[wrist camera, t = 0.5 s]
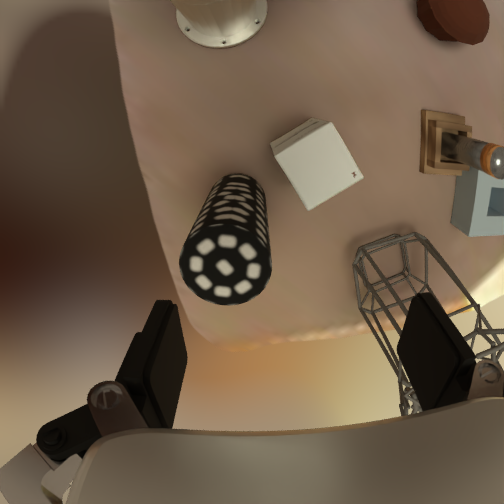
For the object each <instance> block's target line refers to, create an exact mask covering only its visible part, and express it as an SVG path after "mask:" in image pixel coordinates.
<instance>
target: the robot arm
mask: <svg viewBox="0 0 504 504" xmlns="http://www.w3.org/2000/svg"><path fill="white" fill-rule="evenodd" d="M170 1H171V2H172V3H173V5H174V6H175V7H176V19H177V23H178V25H179V28H180V29H181V31H182V32H183V33H184V35H185V36H186V37H188V38H189V39H190V40H192V41H193V42H195V43H197V44H199V45H201V46H205V47H209V48H229V47H233V46H237V45H239V44H242V43H244V42H246V41H247V40H249V39H251V38H252V37H253V36H254V35H255V34H257V33H258V31H259V30H260V29H261V28H262V26H263V24H264V22H265V20H266V16H267V10H268V6H267V0H170ZM256 22H259V24H256ZM188 29H190V31H189V32H187V30H188ZM222 42H226V43H225V44H222ZM397 354H398V356H399V358H400V360H401V362H402V365H403V367H404V369H405V371H406V374H407V376H408V378H409V380H410V383H411V385H412V387H413V389H414V392H415V394H416V396H417V399H418V401H419V404H420V406H421V408H422V411H423V412H419V413H414V414H410V415H405V416H400V417H395V418H390V419H384V420H379V421H372V422H366V423H360V424H352V425H345V426H335V427H326V428H315V429H303V430H287V431H286V430H285V431H205V430H187V429H172V427H173V423H174V418H175V413H176V409H177V404H178V400H179V395H180V391H181V387H182V382H183V378H184V373H185V369H186V365H187V351H186V347H185V342H184V337H183V333H182V328H181V323H180V318H179V313H178V307H177V305H176V304H173V303H172V301H171V300H157V301H156V302H155V304H154V306H153V308H152V311H151V313H150V315H149V317H148V319H147V322H146V324H145V326H144V328H143V331H142V332H138V333H136V334H135V336H134V338H133V340H132V342H131V344H130V347H129V349H128V351H127V353H126V356H125V358H124V360H123V362H122V365H121V367H120V369H119V372H118V374H117V376H116V379H115V381H103V382H100V383H98V384H96V385H95V386H94V387H93V388H91V389H90V391H89V393H88V396H87V403H88V404H86V405H84V406H82V407H80V408H78V409H76V410H74V411H72V412H69V413H67V414H65V415H64V416H61V417H59V418H57V419H55V420H52V421H50V422H48V423H46V424H45V425H43V426H42V427H41V428H40V430H39V432H38V434H37V439H36V441H37V442H36V443H35V444H34V445H31V443H30V444H29V445H28V446H26V447H25V448H24V449H23V450H22V451H20V452H19V453H18V454H17V455H16V456H15V457H13V458H12V459H11V460H10V461H9V462H7V463H6V464H5V465H4V466H3V467H2V468H1V469H0V491H1V492H2V494H3V496H4V497H5V499H6V500H7V501H8V503H9V504H63V503H62V497H63V494H64V493H65V491H66V490H67V489H68V488H69V487H70V486H71V488H70V492H69V495H68V498H67V501H66V504H504V372H503V370H502V369H501V367H500V366H499V365H498V364H496V363H495V362H493V361H490V360H482V361H479V362H478V363H476V361H475V358H476V356H475V354H474V352H473V351H472V349H471V348H470V346H469V345H468V344H467V342H466V341H465V339H464V338H463V336H462V335H461V333H460V332H459V331H458V329H457V328H456V327H455V325H454V324H453V322H452V321H451V319H450V318H449V317H448V315H447V314H446V312H445V311H444V310H443V308H442V307H441V306H440V304H439V303H438V302H437V300H436V299H435V298H434V297H433V295H432V294H431V293H429V292H426V293H417V294H416V295H415V297H413V298H412V300H411V304H410V307H409V311H408V314H407V317H406V320H405V324H404V327H403V330H402V333H401V336H400V339H399V342H398V345H397ZM72 480H73V482H72V485H70V484H69V483H71V481H72Z"/></svg>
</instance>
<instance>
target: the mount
mask: <svg viewBox="0 0 504 504" xmlns="http://www.w3.org/2000/svg"><path fill="white" fill-rule="evenodd" d="M442 132H449V133H453V134H457V135H461V136H465V137H469V138H472V126H467V125H465V117H464V116H459V115H453V114H447V113H441V112H435V111H428V110H421V155H420V172H422V173H424V174H442V175H458V176H462V170H463V171H469V168H470V166H468V165H465V164H463V163H460V162H458V161H455V160H453V159H450V158H447V157H445V156H442V155H441V138H442Z"/></svg>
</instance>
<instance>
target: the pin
mask: <svg viewBox="0 0 504 504" xmlns="http://www.w3.org/2000/svg"><path fill="white" fill-rule="evenodd" d="M441 155H442V156H445V157H447V158H450V159H453V160H455V161H458V162H460V163H463V164H465V165H468V166H470V167H473V168H475V169H478V170H480V171H482V172H484V173H486V174H487V175H490V176H492V177H494V178H496V179H501V180H503V179H504V147H503V146H500V145H496V144H493V143H487V142H484V141H480V140H477V139H473V138H469V137H465V136H461V135H457V134H453V133H449V132H442V138H441Z"/></svg>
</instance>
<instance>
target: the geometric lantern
mask: <svg viewBox="0 0 504 504" xmlns="http://www.w3.org/2000/svg"><path fill="white" fill-rule="evenodd" d="M394 236H395V238H393V239H390V240H387V241H384V240H386V239H389V238H391V237H394ZM412 236H415V237H416V238H417V239H414V240H408V241H404V240H406V239H408V238H409V237H412ZM381 241H383V242H381ZM416 241H420V242H421V243H422V244H423V246H424V247H425V282H423V281H422V280H420V279H418V278H417V277H415V276H413V275H412V274H411V272H410V266H409V259H408V253H407V248H406V243H410V242H416ZM379 242H380V243H379ZM392 242H394V243H392ZM402 242H403V243H404V248H405V254H406V260H407V266H408V269H407V267H406V261H405V255H404V249H403V244H402ZM376 243H377V244H376ZM389 243H391V244H389ZM397 243H400V244H401V249H402V255H403V261H404V270H403V272H402V273H400V274H398V275H395V276H393V277H390V278H388V279H386V278H385V276H384V275H383V273H382V272H381V270H380V269H379V268H378V266H377V265H376V263H375V262H374V261H373V259H372V258H371V256H370V255H369V254H372V253H374V252H377V251H380V250H382V249H385V248H387V247H390V246H392V245H395V244H397ZM386 244H389V245H386ZM382 245H386V246H384V247H381V248H378V249H376V250H373V251H371V252H367V251H366V250H369V249H372V248H376V247H379V246H382ZM428 245H429V246H428ZM428 251H429V252H430V253H431V255H432V256H433V257H434V258H435V259H436V260H437V262H438V263H439V264H440V265H441V266H442V267H443V269H444V270H445V271H446V272H447V273H448V275H449V276H450V277H451V278H452V280H453V281H454V282H455V283H456V285H457V286H458V287H459V288H460V290H461V291H462V292H463V293H464V295H465V296H466V297H467V299H468V300H469V301H470V303H471V304H470V305H468V306H466V307H464V308H461V309H459V310H457V311H455V312H452V313H450V314H447V315H448V317H451V316H453V315H456V314H458V313H460V312H462V311H465V310H467V309H469V308H471V307H474V309H475V310H476V312H477V313H478V314H477V319H476V324H475V329H474V331H473V332H471V333H469V334H468V335H466V336H464V337H463V338H464V339H465V341H467V340H469V339H471V338H472V337H473V338H472V342H471V347H470V348H471V349H472V348H473V344H474V340H475V336H476V335H477V334H479V335H482V336H483V337H484V338H485V339H486V340H487V341H488V342H489V343H490V344H491V348H490V349H487V350H485V351H483V352H480V353H478V354H476V358H477V359H483V360H490V361H493V362H495V363H496V364H498V365H499V366H500V367H501V365H500V364H499V361H498V359H499V357H500V355H501V354H502V352H503V351H504V342H502V343H501V342H500V340H499V339H498V337H497V335H496V334H504V329H492V327H491V326H490V324H489V323H488V321H487V320H486V318H485V317H484V315H483V314H482V312H481V310H480V304H478V305H477V303H476V302H475V301H474V299H473V298H472V297H471V295H470V294H469V293H468V291H467V290H466V288H465V287H464V286H463V284H462V283H461V281H460V280H459V279H458V277H457V276H456V275H455V273H454V272H453V271H452V269H451V268H450V267H449V265H448V264H447V263H446V261H445V260H444V259H443V258H442V256H441V255H440V254H439V253H438V251H437V250H436V249H435V248H434V246H433V245H432V244H431V243H430V242H429V240H428V239H427V238H426V237H425V236H423V235H421V234H419V233H417V232H413V233H410V234H407V235H403V236H400V235H396V234H393V235H390V236H388V237H385V238H383V239H380V240H378V241H375V242H372V243H370V244H367V245H364V246H362V247H359V249H358V252H357V255H356V258H355V260H354V262H353V264H352V266H353V272H354V278H355V285H356V292H357V300H358V308H359V310H360V312H361V314H362V315H363V317H364V319H365V320H366V322H367V324H368V326H369V327H370V329H371V331H372V332H373V334H374V336H375V337H376V339H377V341H378V343H379V345H380V346H381V348H382V350H383V352H384V353H385V355H386V357H387V359H388V361H389V362H390V364H391V366H392V368H393V370H394V371H395V373H396V375H397V377H398V383H399V393H400V403H401V404H399V407H400V412H401V416H405V415H408V409H410V405H409V403H408V399H409V400H410V401H412V402H413V405H412V406H411V408H412V409H413V411H412V413H411V414H414V413H417V411H419V412H423V411H422V408H421V406H420V404H419V401H418V399H417V396H416V394H415V392H414V389H413V387H412V388H410V387H411V386H412V385H411V383H410V382H408V380H407V378H406V375H405V373H404V371H403V369H402V362H401V360H400V358H399V361H398V359H397V357H396V355H395V353H394V350H393V348H392V346H391V345H390V342H389V340H388V338H387V336H386V335H385V333H384V331H383V329H382V327H381V325H380V323H379V321H378V319H377V317H376V315H375V313H377V312H380V311H384V312H385V314H386V315H387V317H388V318H389V320H390V321H391V323H392V325H393V326H394V328H395V329H396V331H397V332H398V334H399V336H401V333H402V330H401V328H400V327H399V325H398V324H397V322H396V321H395V319H394V318H393V316H392V315H391V313H390V312H389V310H388V308H391V307H394V306H397V305H399V306H400V308H401V309H402V311H403V312H404V314H405V315H406V317H407V314H408V310H407V309H406V307H405V306H404V304H403V303H405V302H408V301H411V300H412V298H413V297H415V296H413V297H410V298H407V299H405V300H402V301H401V300H400V298H399V297H398V295H397V294H396V292H395V291H394V289H393V288H392V285H395V284H397V283H399V282H401V281H404V280H407V281H408V283H409V285H410V286H411V288H412V290H413V291H414V293H415V295H416V294H417V293H416V291H415V289H414V287H413V286H412V284H411V282H410V281H409V279H408V277H409V276H411V277H413V278H414V279H416V280H418V281H419V282H421V283H422V284H424V287H423V288H422V289H421V290H420V292H419V293H423V291H424V290H425V289H426V288H427V289H428V291H429V293H431V294H432V295H433V297H434V298H435V299H436V300H437V302H438V303H439V301H438V299H437V298H436V296H435V295H434V293H433V292H432V290H431V288H430V287H429V285H428ZM361 254H363V256H362V258H361V257H360V256H361ZM365 256H366V257H367V259H368V260H369V261H370V263H371V264H372V266H373V267H374V269H375V270H376V272H377V273H378V274H379V276H380V277H381V279H382V280H383V281H380V282H378V283H375V284H372V285H371V284H370V283H369V281H368V278H367V274H366V270H365V266H364V262H363V259H364V257H365ZM358 263H359V266H360V269H359V267H358V266H357V265H356V264H358ZM361 263H362V266H361ZM362 267H363V270H362ZM405 270H406V271H407V272H408V273H409V274H408V275H407V277H406V275H405V273H404V272H405ZM363 271H364V274H363ZM357 272H358V274H359V275H360V276H361V278H362V279H363V282H364V285H365V286H366V287H367V289H368V292H367V294H366V295H365V297H364V299H363V301H362V302H361V298H360V290H359V282H358V275H357ZM364 275H365V276H364ZM400 275H403V276H404V277H405V278H403V279H401V280H399V281H396V282H394V283H392V284H390V283H389V282H388V280H391V279H393V278H396V277H398V276H400ZM383 282H384V283H385V285H386V286H385V287H383V288H380V289H378V290H376V291H375V290H374V288H373V286H376V285H378V284H381V283H383ZM386 288H388V289H389V291H390V292H391V294H392V295H393V297H394V298H395V300H396V301H397V302H396V303H393V304H391V305H388V306H385V304H384V303H383V301H382V300H381V298H380V297H379V296H378V294H377V293H376V292H379V291H381V290H383V289H386ZM369 292H371V293H372V305H371V311H370V310H368V309H365V308H363V307H362V305H363V303H364V301H365V300H366V298H367V296H368V294H369ZM374 297H375V298H376V300H377V301H378V303H379V305H380V306H381V308H379V309H376V310H373V306H374ZM439 304H440V303H439ZM440 306H441V304H440ZM441 307H442V306H441ZM442 308H443V307H442ZM443 310H444V309H443ZM444 311H445V310H444ZM365 312H367V313H369V314H372V316H373V318H374V320H375V322H376V324H377V326H378V328H379V330H380V332H381V334H382V336H383V338H384V340H385V342H386V344H387V346H388V348H389V350H390V352H391V355H392V357H393V359H394V361H395V363H396V365H397V367H398V369H397V367H396V365H395V363H394V362H393V360H392V358H391V356H390V355H389V353H388V351H387V349H386V348H385V346H384V344H383V342H382V341H381V339H380V338H379V336H378V334H377V332H376V331H375V329H374V327H373V326H372V324H371V322H370V321H369V319H368V317H367V316H366V314H365ZM481 319H482V321H483V322H484V324H485V325H486V327H487V328H488V329H482V324H481ZM478 323H479V328H478ZM486 334H491V335H492V336H493V338H494V339H495V341H496V343H497V344H498V345H497V346H496V344H495V342H494V341H492V340H491V339H490V338H489V337H488V336H487V335H486ZM498 350H499V352H498V353H497V355H496V351H498ZM489 354H491V359H489V358H485V357H484V356H487V355H489ZM501 369H502V367H501ZM398 370H399V371H398ZM502 370H503V369H502ZM503 372H504V371H503ZM402 384H403V385H405V386H406V388H405V390H404V391H403V386H402ZM409 395H410V396H411V397H410V396H409ZM403 406H404V410H403Z"/></svg>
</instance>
